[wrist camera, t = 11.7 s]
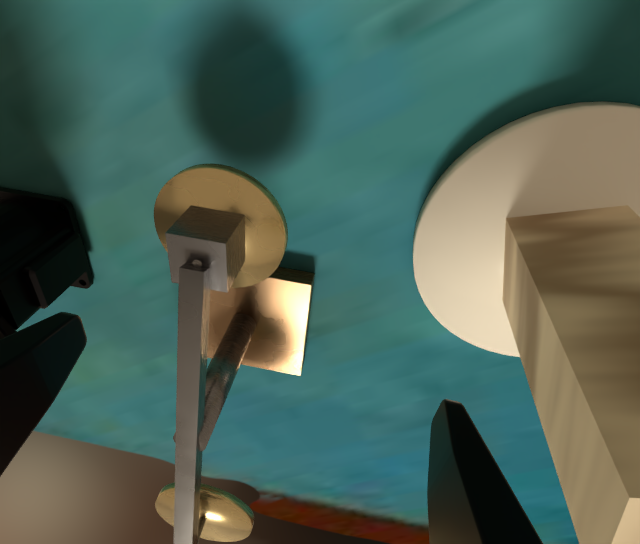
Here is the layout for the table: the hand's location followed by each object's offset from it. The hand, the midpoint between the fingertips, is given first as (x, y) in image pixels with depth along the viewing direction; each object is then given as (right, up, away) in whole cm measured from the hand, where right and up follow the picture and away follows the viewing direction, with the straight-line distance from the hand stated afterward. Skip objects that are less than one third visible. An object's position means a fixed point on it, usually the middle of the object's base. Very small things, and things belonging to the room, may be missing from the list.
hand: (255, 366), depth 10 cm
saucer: (+13, +4, +11) cm, 18 cm away
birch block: (+13, +3, +10) cm, 17 cm away
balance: (-3, 0, +17) cm, 18 cm away
